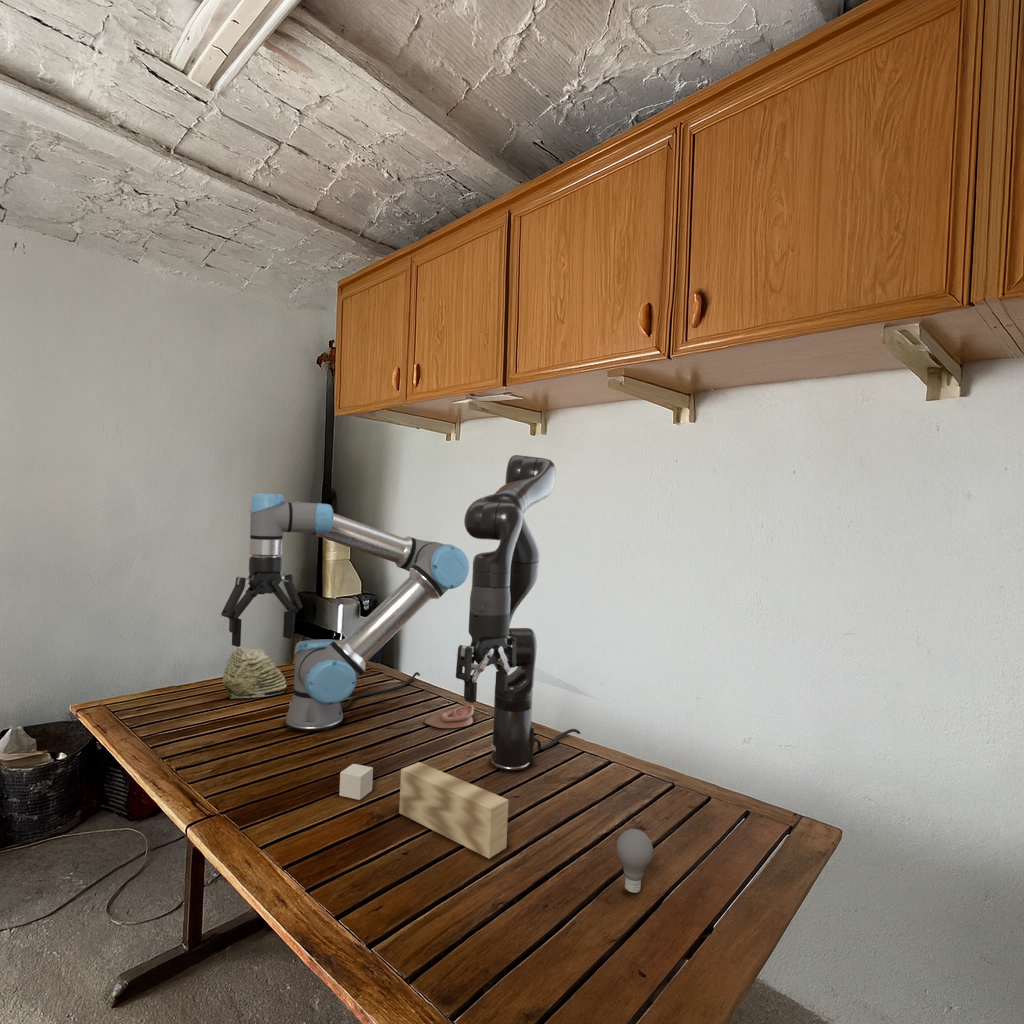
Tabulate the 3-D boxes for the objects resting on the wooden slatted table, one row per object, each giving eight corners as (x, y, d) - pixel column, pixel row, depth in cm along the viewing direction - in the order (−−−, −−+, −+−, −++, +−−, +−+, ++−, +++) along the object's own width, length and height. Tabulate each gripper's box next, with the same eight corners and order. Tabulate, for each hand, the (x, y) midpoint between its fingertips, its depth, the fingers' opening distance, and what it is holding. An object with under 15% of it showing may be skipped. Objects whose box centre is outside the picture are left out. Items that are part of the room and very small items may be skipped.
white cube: (352, 785, 139) (353, 763, 139) (372, 790, 138) (373, 767, 138) (339, 795, 135) (340, 772, 135) (359, 800, 133) (360, 776, 133)
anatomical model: (421, 711, 177) (434, 699, 188) (420, 725, 177) (433, 712, 188) (466, 717, 174) (477, 704, 186) (466, 731, 174) (476, 717, 186)
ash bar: (399, 813, 128) (400, 769, 128) (417, 804, 132) (419, 761, 132) (489, 858, 113) (491, 809, 113) (506, 847, 117) (508, 799, 117)
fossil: (218, 695, 195) (220, 647, 195) (278, 685, 208) (279, 640, 207) (228, 703, 189) (230, 653, 188) (289, 692, 201) (290, 645, 201)
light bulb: (610, 879, 108) (613, 822, 108) (644, 879, 109) (647, 822, 109) (619, 902, 102) (622, 840, 102) (655, 901, 103) (658, 840, 103)
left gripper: (301, 552, 168) (298, 632, 169) (207, 556, 149) (204, 646, 149) (318, 555, 164) (315, 637, 164) (223, 559, 144) (220, 652, 145)
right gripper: (499, 603, 125) (495, 684, 125) (448, 611, 114) (444, 700, 114) (529, 608, 120) (525, 693, 121) (479, 617, 109) (475, 710, 110)
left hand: (262, 641), depth 157 cm, fingers open, 13 cm apart
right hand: (485, 696), depth 117 cm, fingers open, 8 cm apart
